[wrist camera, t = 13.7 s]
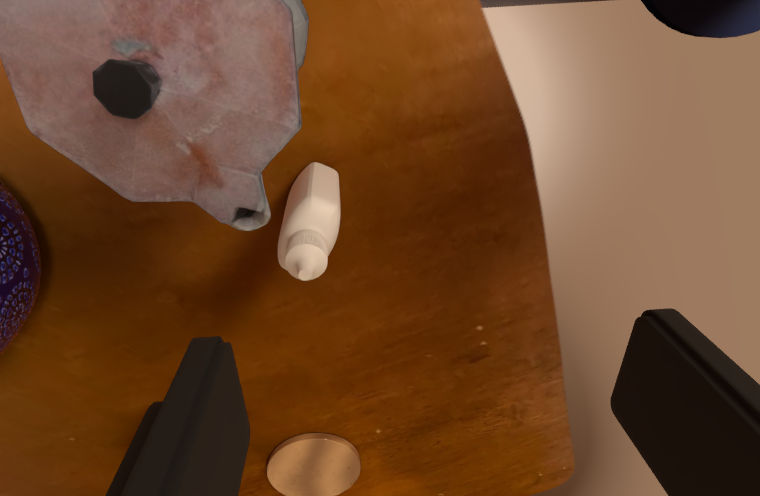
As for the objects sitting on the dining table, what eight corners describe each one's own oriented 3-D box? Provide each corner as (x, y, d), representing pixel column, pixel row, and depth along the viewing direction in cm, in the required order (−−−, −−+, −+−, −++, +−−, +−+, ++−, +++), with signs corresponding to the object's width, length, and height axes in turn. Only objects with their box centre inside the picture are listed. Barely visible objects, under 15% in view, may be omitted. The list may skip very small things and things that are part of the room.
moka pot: (240, 161, 33) (135, 330, 15) (85, -68, 26) (-444, -253, 8) (355, 99, 32) (387, 204, 14) (225, -159, 25) (-40, -604, 7)
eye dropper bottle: (265, 195, 34) (236, 275, 24) (323, 152, 33) (320, 216, 22) (302, 236, 36) (290, 327, 25) (358, 196, 35) (370, 274, 24)
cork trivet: (359, 428, 47) (359, 434, 46) (361, 489, 51) (361, 495, 51) (262, 436, 46) (261, 443, 45) (273, 498, 51) (272, 504, 50)
